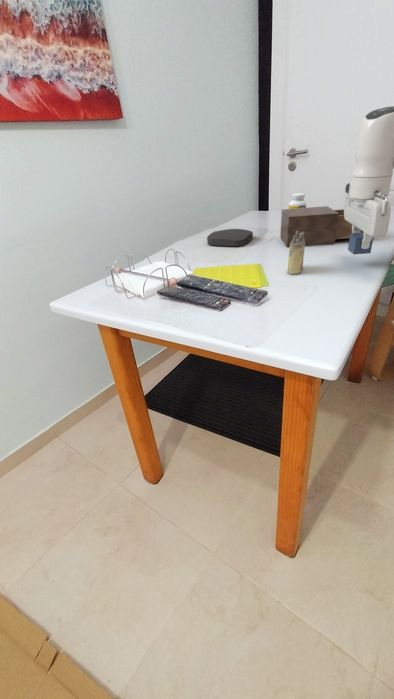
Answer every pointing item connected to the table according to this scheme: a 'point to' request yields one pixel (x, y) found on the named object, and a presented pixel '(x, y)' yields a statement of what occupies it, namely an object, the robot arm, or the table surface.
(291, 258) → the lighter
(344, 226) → the drawer
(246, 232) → the media streaming box
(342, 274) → the table surface
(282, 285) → the table surface
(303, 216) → the cabinet
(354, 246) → the block
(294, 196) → the pill bottle
